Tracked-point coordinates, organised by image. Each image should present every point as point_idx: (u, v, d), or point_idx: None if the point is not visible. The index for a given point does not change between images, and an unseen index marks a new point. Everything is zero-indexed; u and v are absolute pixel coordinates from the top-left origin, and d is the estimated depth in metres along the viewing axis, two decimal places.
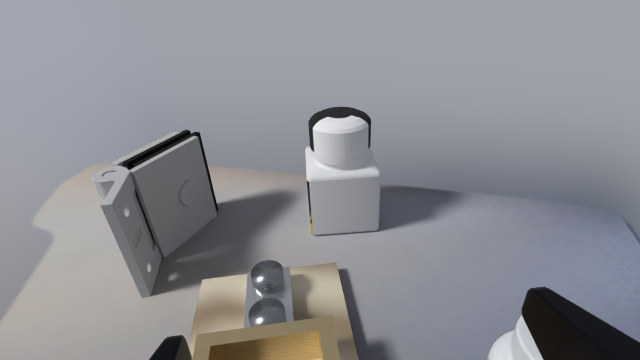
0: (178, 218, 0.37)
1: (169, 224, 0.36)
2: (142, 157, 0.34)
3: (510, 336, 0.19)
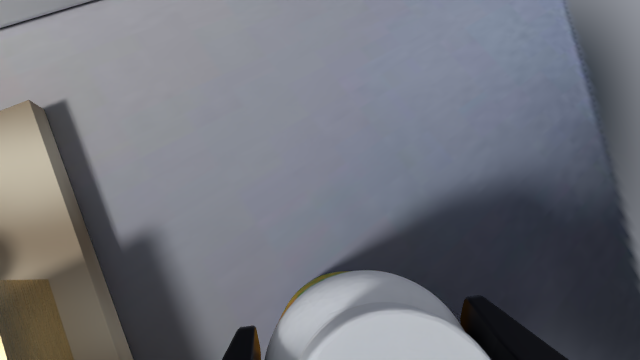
0: None
1: None
2: None
3: (302, 325, 0.08)
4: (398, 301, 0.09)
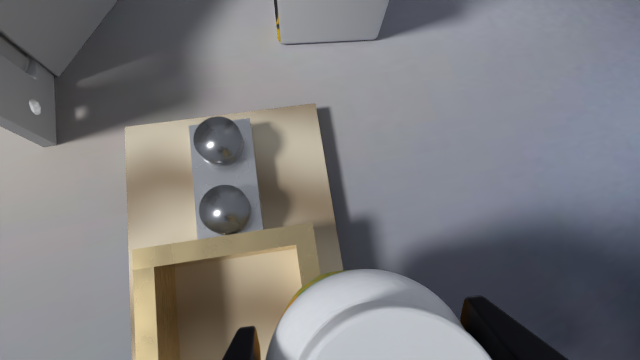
0: (55, 14, 0.22)
1: (42, 28, 0.22)
2: None
3: (303, 324, 0.08)
4: (398, 299, 0.09)
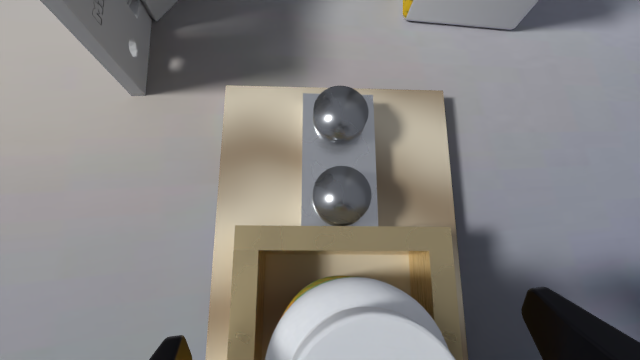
0: None
1: None
2: None
3: (298, 326, 0.10)
4: (381, 305, 0.10)
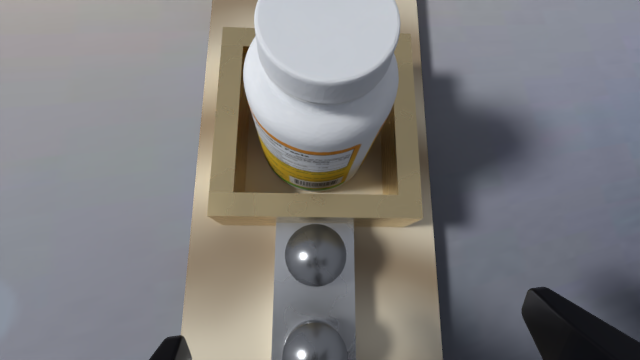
0: None
1: None
2: None
3: None
4: None
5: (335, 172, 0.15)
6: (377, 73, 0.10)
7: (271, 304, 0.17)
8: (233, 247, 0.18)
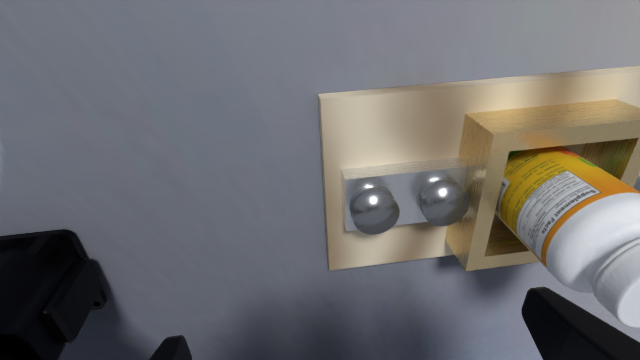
0: None
1: None
2: None
3: None
4: None
5: (512, 224, 0.20)
6: (613, 315, 0.15)
7: (397, 160, 0.21)
8: (445, 125, 0.20)
